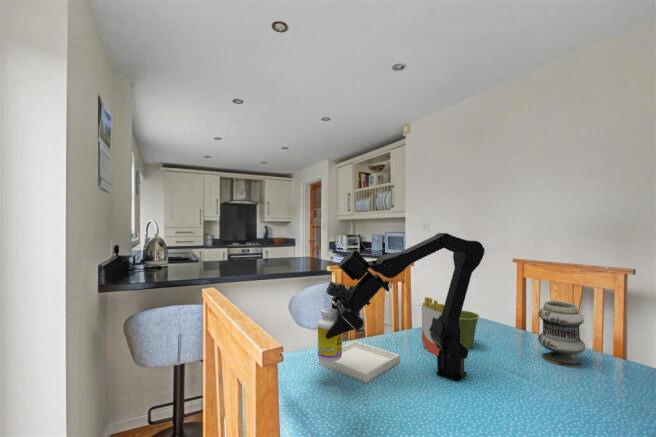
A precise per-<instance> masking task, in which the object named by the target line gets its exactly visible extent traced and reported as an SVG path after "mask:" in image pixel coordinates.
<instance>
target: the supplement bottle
mask: <svg viewBox="0 0 656 437" xmlns="http://www.w3.org/2000/svg"><path fill="white" fill-rule="evenodd" d="M337 311H338V310H337V309H333V308H332V307H330V308H329V307H328V308H327V307H325V308H323V309H321V318H320V319H318V322H317V356H318V359H319V358H320V359H321V360H323V361H337V360H339V359H340V358H341V357H342V346H343V333H342V334H339V335H337V336H335V337H332V338H330V339H327V338H326V337H325V335H326V334H327V332H328V331H329V329H330V328H331V326H332V325H333V324H334V322H335V321H336V319H337Z"/></svg>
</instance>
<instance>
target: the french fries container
mask: <svg viewBox="0 0 656 437" xmlns="http://www.w3.org/2000/svg"><path fill="white" fill-rule="evenodd" d="M444 305H445V303H444V304H443V303H438V300H437V299H436V300H435V299H434V300H433V298H431V297H427V296H424V302H422V304H421V341H422V343H423V345H424V348H425V350H426V351H428V352H429V353H430V354H432V355H434V356H435V357H437V356H438V355H439V351H440V349H439V348H437V346H436V343H435V342H433V340H432V339H431V337H430V332H431V331H429V329H430V327H431V325H432V319H433V318H436V319H438V318H439V317H440V316H441V314H442V312H443V308H444Z"/></svg>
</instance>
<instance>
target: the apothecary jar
mask: <svg viewBox="0 0 656 437" xmlns="http://www.w3.org/2000/svg"><path fill="white" fill-rule="evenodd" d="M543 304H544V305H543V307H542V308H540V309H539V311H538V312H537V313H538V316H539V318H540V320H542V332H541V333H540V334H539V335H538V338H537V340H538V342H539V344H540V345H541V347H543V348H545V349H546V350H549V351H550V352H545V353H543V354H542V358H543V359H544V360H546V361H547V362H549V363H552V364H555V365H558V366H566V367H568V368H569V367H570V368H576V367H577V366H578V367H580V366H581V365H582V363H581V361H580V360H578V358H576V357H573V356H574V355H579V354H582V353H583V352H584V351H585V349H586V344H585V342H584V341H583V340H582V339H581V337H580V336H581V334H580V325H582V324H584V321H585V318H584V316H583V315H582V313H580V312H579V310H578V307H577V305H576V304H574V303H571V302H567V301H558V300H549V301H545V302H544V303H543Z"/></svg>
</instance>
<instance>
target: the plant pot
mask: <svg viewBox="0 0 656 437" xmlns="http://www.w3.org/2000/svg"><path fill="white" fill-rule="evenodd" d="M479 318H480V315H479V314H478V313H477V312H473V311H469V310H463V309H462V311H461V315H460V319H459V324H460V330H461V337H460V343H461V344H462V345H463V346H464V347H465V348H466V349H467V350H469V349H472V348H473V347H474V341H475V336H476V329H477V328H476V327H477V325H478V324H477V323H478V319H479Z"/></svg>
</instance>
